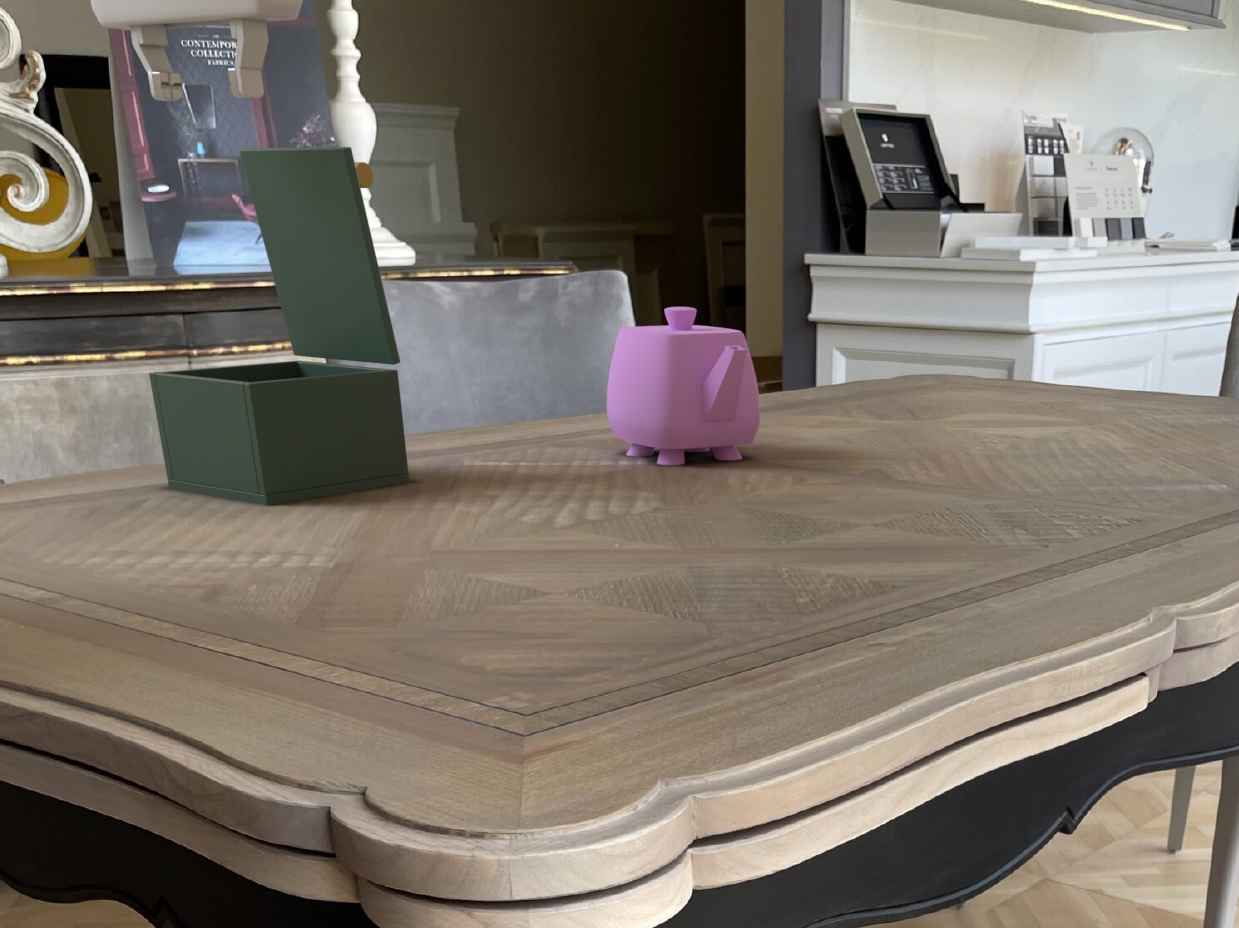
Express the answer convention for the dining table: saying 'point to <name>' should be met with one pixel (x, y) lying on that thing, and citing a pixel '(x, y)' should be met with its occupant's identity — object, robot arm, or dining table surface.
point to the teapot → (682, 389)
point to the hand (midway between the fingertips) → (207, 99)
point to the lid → (322, 251)
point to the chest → (280, 430)
